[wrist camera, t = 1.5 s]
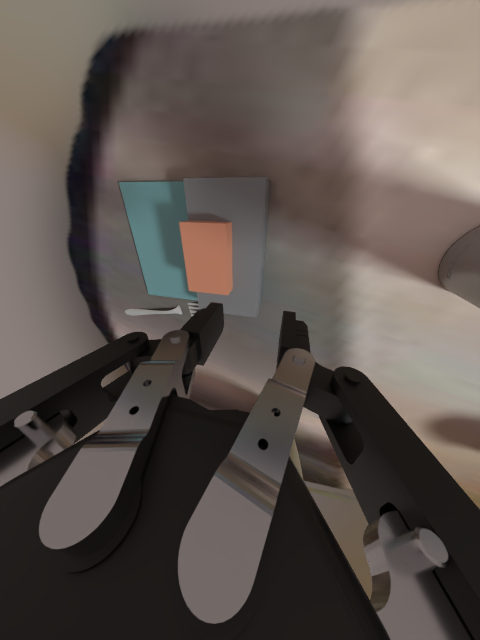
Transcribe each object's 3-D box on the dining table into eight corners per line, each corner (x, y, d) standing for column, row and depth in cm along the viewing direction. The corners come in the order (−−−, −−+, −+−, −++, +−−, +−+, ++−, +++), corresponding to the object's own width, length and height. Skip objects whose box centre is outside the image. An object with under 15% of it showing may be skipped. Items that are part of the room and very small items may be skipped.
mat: (195, 181, 26) (193, 181, 25) (206, 300, 35) (205, 301, 35) (121, 182, 28) (118, 182, 28) (150, 293, 38) (148, 294, 37)
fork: (113, 305, 42) (107, 309, 41) (211, 300, 35) (208, 304, 34) (120, 318, 44) (114, 322, 42) (215, 314, 37) (212, 319, 36)
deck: (270, 180, 24) (266, 176, 20) (260, 306, 33) (257, 317, 30) (197, 181, 26) (183, 178, 22) (207, 300, 35) (198, 310, 32)
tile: (231, 222, 24) (226, 223, 22) (232, 288, 28) (228, 295, 26) (188, 220, 25) (179, 222, 23) (195, 285, 29) (188, 290, 27)
